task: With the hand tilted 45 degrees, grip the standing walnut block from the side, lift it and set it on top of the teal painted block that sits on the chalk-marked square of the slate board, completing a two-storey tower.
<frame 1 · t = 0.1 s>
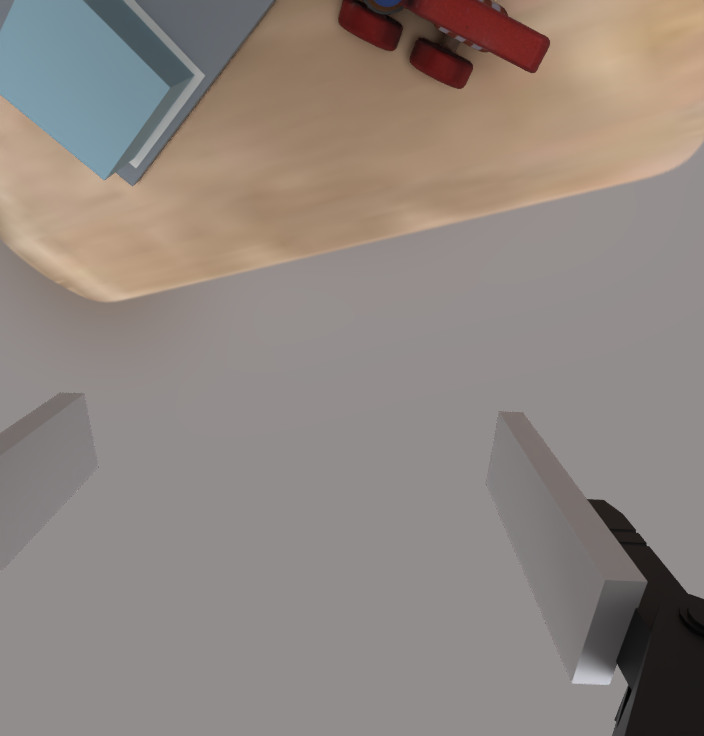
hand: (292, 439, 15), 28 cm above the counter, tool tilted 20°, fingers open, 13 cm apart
teal block: (111, 70, 31), point 1 cm above the counter, touching slate board
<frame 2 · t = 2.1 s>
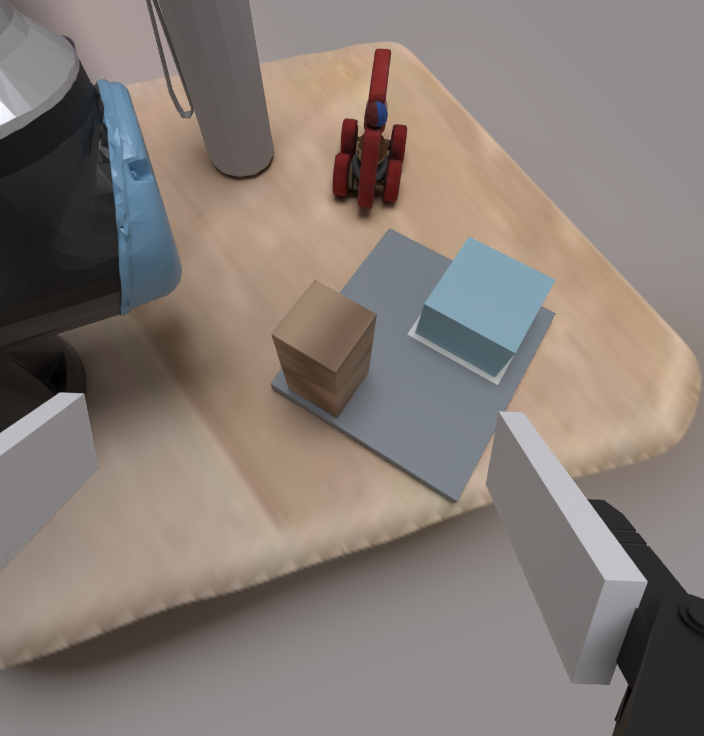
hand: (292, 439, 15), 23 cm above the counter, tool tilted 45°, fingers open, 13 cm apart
slate board: (416, 352, 41), on the counter
toy fire truck: (369, 177, 50), on the counter
teal block: (474, 321, 41), point 1 cm above the counter, touching slate board
walnut block: (328, 379, 39), point 1 cm above the counter, touching slate board
water bottle: (235, 158, 51), on the counter
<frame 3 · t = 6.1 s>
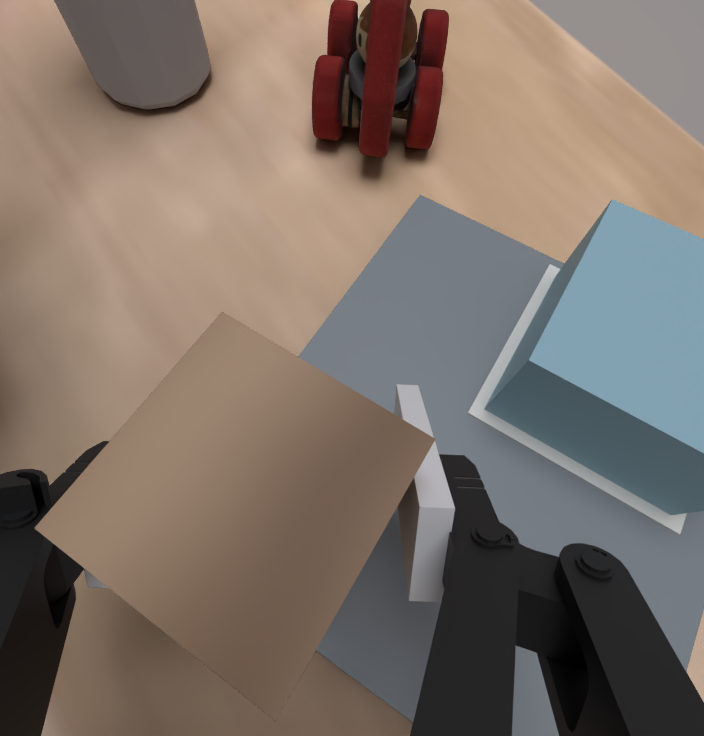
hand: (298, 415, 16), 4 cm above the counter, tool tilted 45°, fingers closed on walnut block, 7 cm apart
slate board: (486, 448, 20), on the counter
toy fire truck: (378, 111, 28), on the counter
teal block: (606, 382, 20), point 1 cm above the counter, touching slate board
walnut block: (297, 525, 17), point 1 cm above the counter, touching gripper, slate board
water bottle: (144, 80, 29), on the counter
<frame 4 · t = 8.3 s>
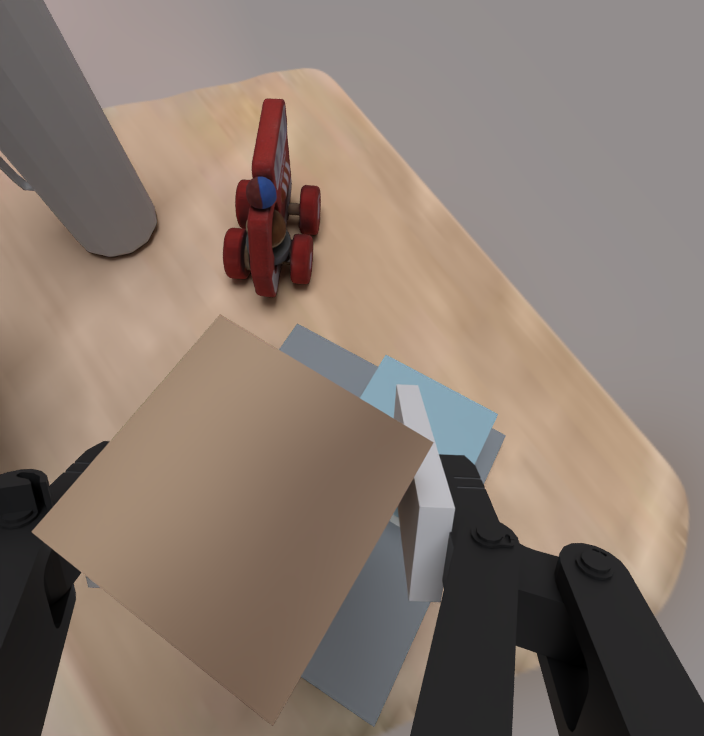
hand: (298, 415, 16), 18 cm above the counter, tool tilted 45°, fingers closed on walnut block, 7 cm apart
slate board: (330, 495, 32), on the counter
toy fire truck: (278, 249, 40), on the counter
teal block: (401, 453, 32), point 1 cm above the counter, touching slate board
walnut block: (295, 527, 17), point 15 cm above the counter, touching gripper
water bottle: (110, 229, 41), on the counter
when the fingers open (10 cm above the counter, at t = 10.9 s): walnut block stays where it is, resting on teal block.
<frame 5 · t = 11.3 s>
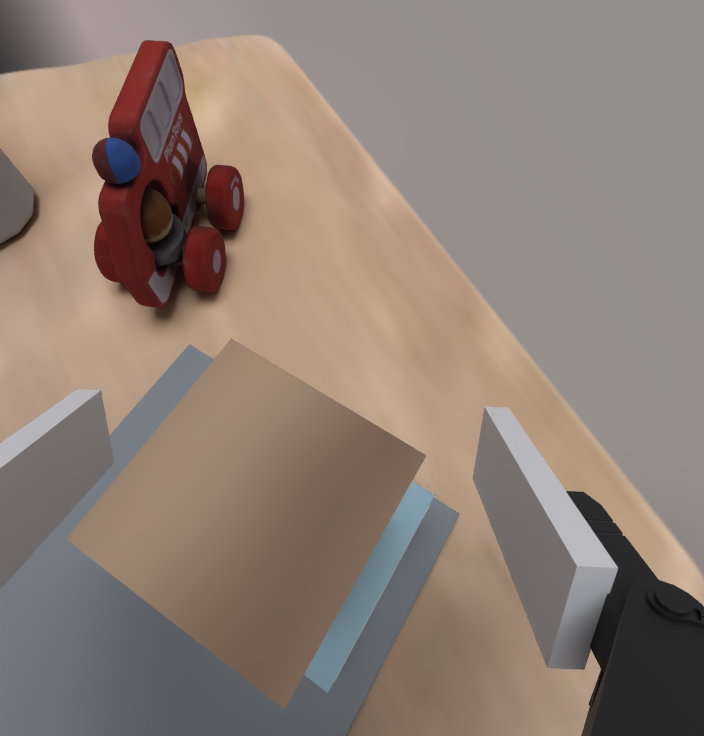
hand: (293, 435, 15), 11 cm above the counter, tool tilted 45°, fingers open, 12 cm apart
slate board: (204, 591, 23), on the counter
toy fire truck: (186, 247, 31), on the counter
teal block: (308, 534, 23), point 1 cm above the counter, touching slate board, walnut block
walnut block: (299, 530, 18), point 6 cm above the counter, touching teal block
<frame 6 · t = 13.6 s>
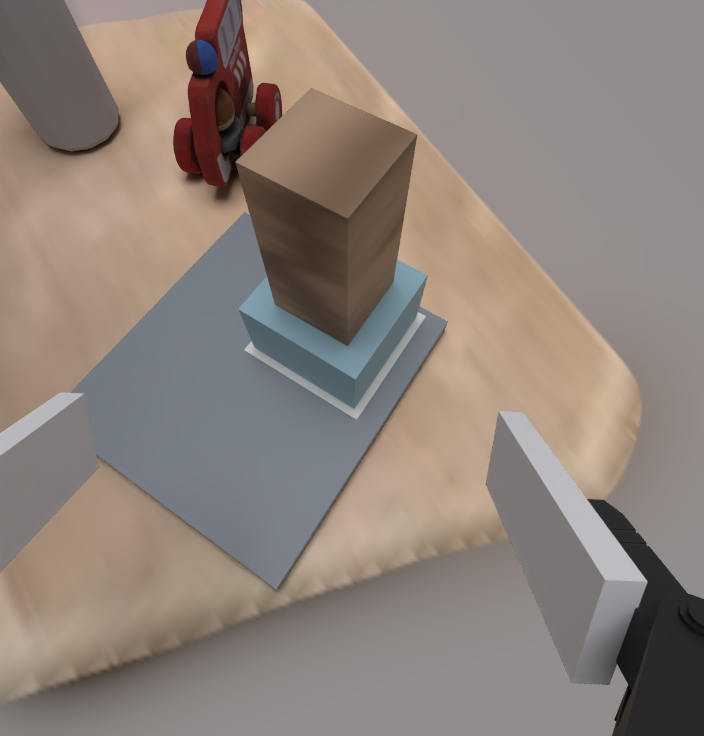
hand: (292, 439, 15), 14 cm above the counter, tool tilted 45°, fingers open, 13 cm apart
slate board: (260, 374, 31), on the counter
toy fire truck: (236, 152, 40), on the counter
teal block: (336, 332, 31), point 1 cm above the counter, touching slate board, walnut block
walnut block: (334, 293, 26), point 6 cm above the counter, touching teal block
water bottle: (73, 129, 41), on the counter
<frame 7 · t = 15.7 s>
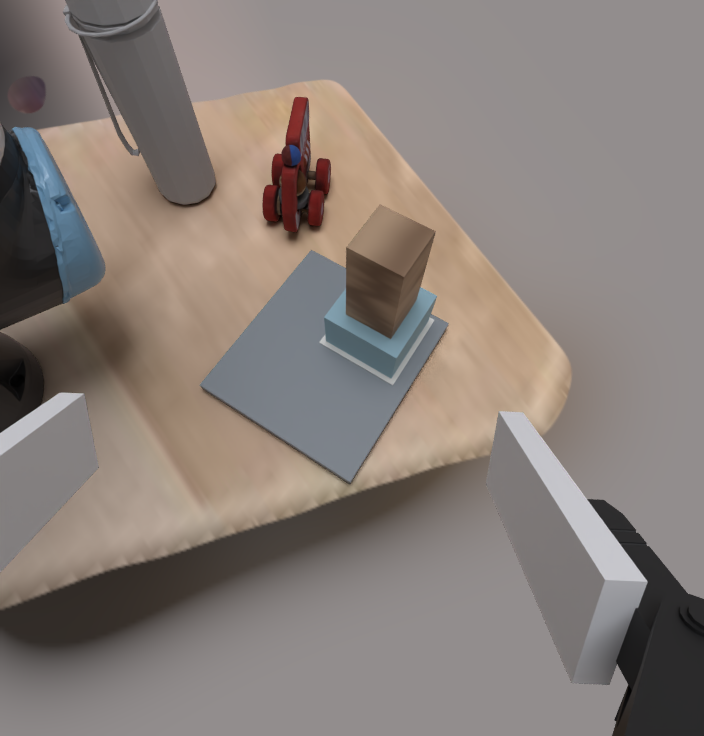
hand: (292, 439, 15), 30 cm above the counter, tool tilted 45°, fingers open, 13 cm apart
slate board: (328, 357, 48), on the counter
toy fire truck: (299, 204, 57), on the counter
teal block: (377, 330, 48), point 1 cm above the counter, touching slate board, walnut block
walnut block: (381, 307, 44), point 6 cm above the counter, touching teal block
water bottle: (182, 187, 58), on the counter
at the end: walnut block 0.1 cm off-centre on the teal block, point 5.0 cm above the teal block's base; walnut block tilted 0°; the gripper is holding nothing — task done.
